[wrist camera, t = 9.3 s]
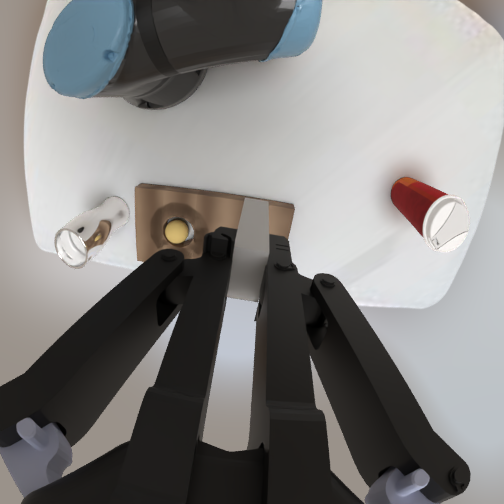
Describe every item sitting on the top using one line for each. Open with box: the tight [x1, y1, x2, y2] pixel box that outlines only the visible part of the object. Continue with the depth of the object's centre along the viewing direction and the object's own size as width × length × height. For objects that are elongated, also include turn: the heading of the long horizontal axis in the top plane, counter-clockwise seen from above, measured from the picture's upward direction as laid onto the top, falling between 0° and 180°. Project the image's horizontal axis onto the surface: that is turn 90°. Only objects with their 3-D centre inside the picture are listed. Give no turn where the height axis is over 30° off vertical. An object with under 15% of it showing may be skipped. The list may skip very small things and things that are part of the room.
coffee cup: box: [391, 177, 470, 252], centre depth 35 cm, size 8×8×15 cm
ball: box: [165, 220, 188, 243], centre depth 45 cm, size 4×4×4 cm
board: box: [135, 183, 295, 262], centre depth 46 cm, size 26×14×2 cm, turn 81°
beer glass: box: [55, 196, 129, 269], centre depth 39 cm, size 7×7×15 cm
